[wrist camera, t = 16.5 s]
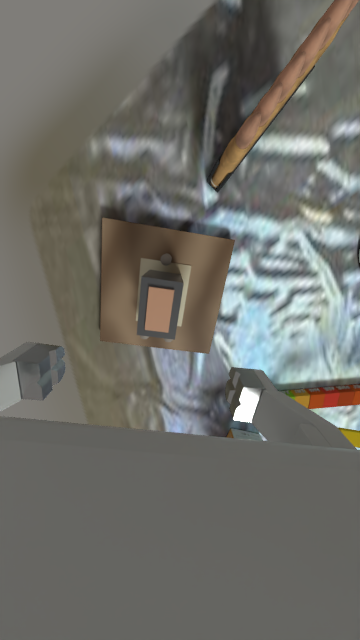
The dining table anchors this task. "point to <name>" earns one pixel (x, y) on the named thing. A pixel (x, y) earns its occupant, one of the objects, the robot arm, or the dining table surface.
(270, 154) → the dining table surface
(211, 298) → the board
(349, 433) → the chart
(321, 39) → the ammunition clip
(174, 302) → the plug block
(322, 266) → the dining table surface
